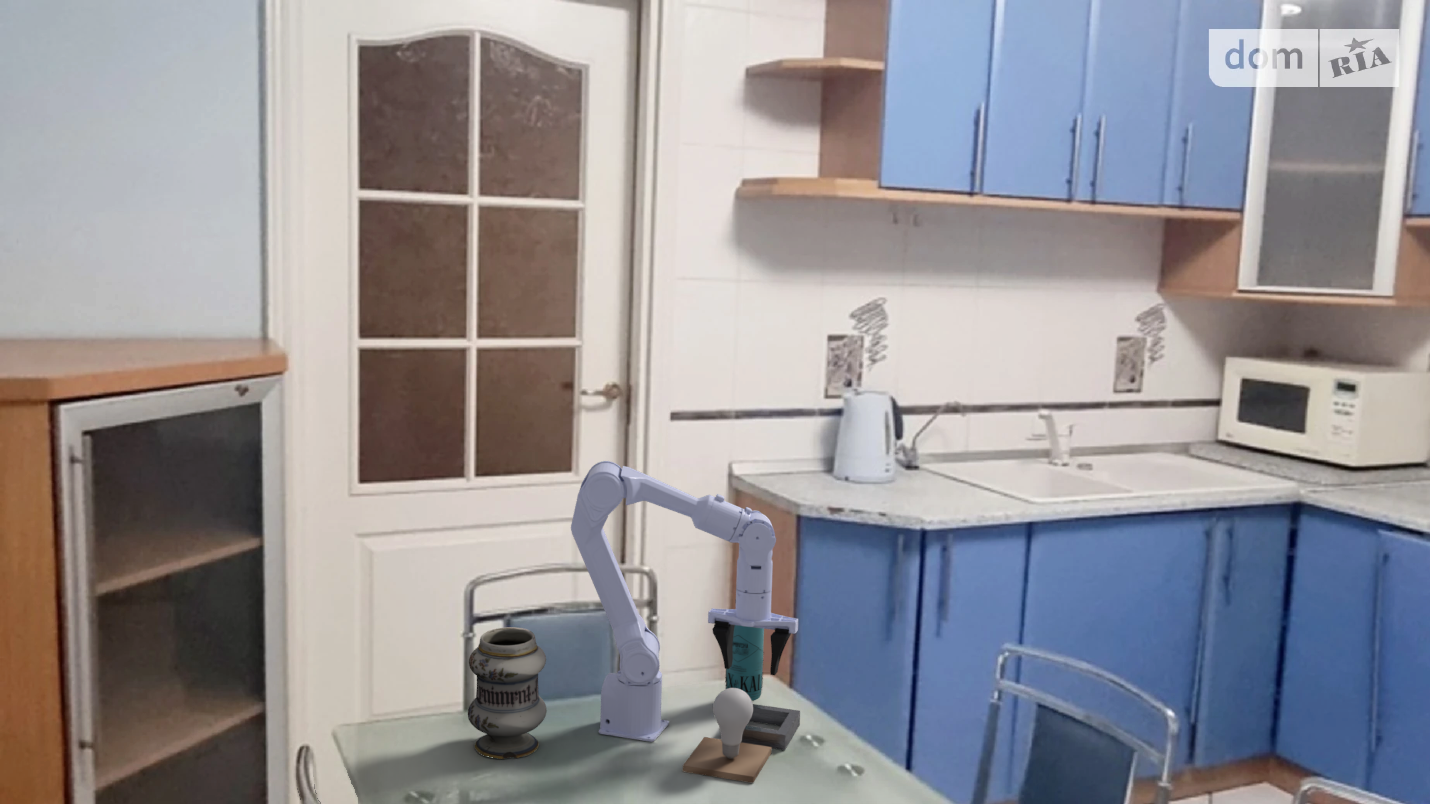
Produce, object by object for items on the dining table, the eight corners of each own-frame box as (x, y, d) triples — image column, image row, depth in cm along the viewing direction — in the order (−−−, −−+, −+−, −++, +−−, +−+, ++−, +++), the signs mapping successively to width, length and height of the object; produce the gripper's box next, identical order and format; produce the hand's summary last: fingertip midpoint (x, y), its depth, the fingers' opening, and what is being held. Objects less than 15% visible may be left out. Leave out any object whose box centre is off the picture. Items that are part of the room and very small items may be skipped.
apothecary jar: (475, 767, 180) (475, 652, 177) (461, 735, 191) (461, 626, 188) (554, 757, 184) (555, 644, 182) (536, 726, 195) (537, 619, 193)
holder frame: (720, 740, 192) (721, 725, 192) (738, 716, 202) (739, 701, 202) (784, 750, 189) (785, 735, 189) (799, 725, 199) (800, 710, 199)
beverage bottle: (726, 694, 211) (730, 584, 208) (764, 697, 210) (768, 587, 208) (721, 708, 205) (725, 595, 202) (760, 712, 204) (764, 598, 201)
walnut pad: (682, 771, 180) (682, 765, 180) (704, 742, 191) (704, 736, 191) (753, 783, 177) (753, 776, 177) (771, 753, 188) (771, 747, 188)
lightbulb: (744, 769, 180) (748, 699, 178) (705, 763, 181) (709, 693, 179) (754, 753, 185) (758, 685, 184) (716, 746, 187) (719, 679, 185)
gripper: (703, 590, 191) (700, 672, 193) (792, 600, 187) (789, 684, 189) (716, 578, 197) (713, 658, 199) (802, 588, 193) (799, 669, 195)
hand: (751, 670), depth 194 cm, fingers open, 7 cm apart
